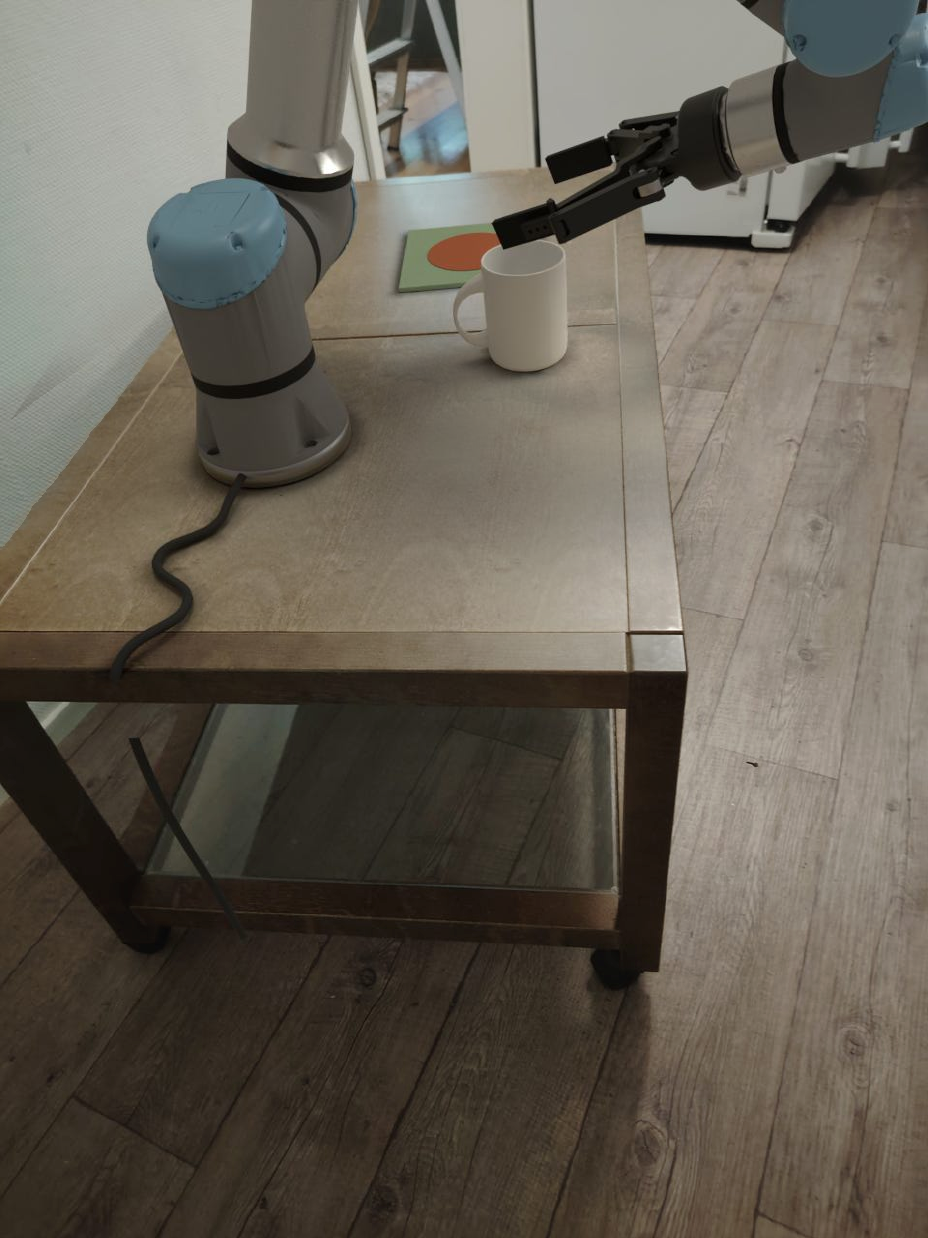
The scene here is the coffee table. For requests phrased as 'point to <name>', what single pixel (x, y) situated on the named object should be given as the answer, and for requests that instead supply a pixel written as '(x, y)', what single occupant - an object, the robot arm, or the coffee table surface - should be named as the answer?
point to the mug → (521, 305)
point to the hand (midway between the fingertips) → (525, 201)
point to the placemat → (445, 256)
